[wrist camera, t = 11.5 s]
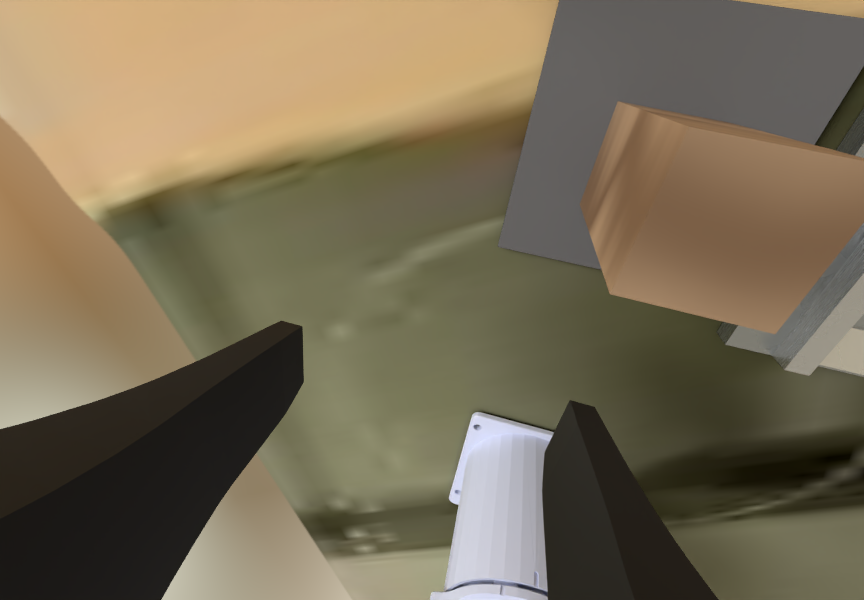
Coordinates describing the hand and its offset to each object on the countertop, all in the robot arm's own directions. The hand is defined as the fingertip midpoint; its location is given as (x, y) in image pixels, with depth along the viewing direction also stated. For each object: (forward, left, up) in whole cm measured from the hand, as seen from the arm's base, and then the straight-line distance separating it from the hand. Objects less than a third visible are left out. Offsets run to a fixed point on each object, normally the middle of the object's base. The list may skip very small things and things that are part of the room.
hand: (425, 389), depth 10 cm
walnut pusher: (+5, -6, -10) cm, 13 cm away
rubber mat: (+5, -6, -10) cm, 13 cm away
